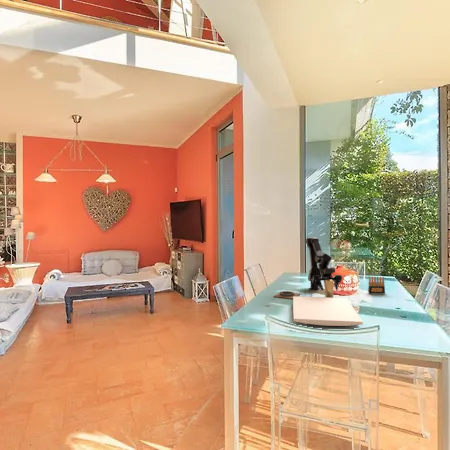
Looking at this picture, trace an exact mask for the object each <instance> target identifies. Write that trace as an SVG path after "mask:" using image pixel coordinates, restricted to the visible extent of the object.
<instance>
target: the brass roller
mask: <svg viewBox="0 0 450 450" xmlns="http://www.w3.org/2000/svg"><path fill="white" fill-rule="evenodd" d="M324 289H325V290H324V293H325V294H324V297H327V298H334V280H330V279H327V280H324Z"/></svg>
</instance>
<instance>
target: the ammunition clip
mask: <svg viewBox="0 0 450 450" xmlns="http://www.w3.org/2000/svg"><path fill="white" fill-rule="evenodd" d="M367 288H368V289H367V293H368V292H369V293H368V294H372V293H385V294H386V289H385V288H386V287H385V276H381V275H380V276H378V275H377V276H374V275H373V276H369V277H368V287H367Z"/></svg>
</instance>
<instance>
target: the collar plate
mask: <svg viewBox="0 0 450 450" xmlns="http://www.w3.org/2000/svg"><path fill="white" fill-rule="evenodd" d="M300 295H301V293H296V292H294V291H290V290H283V291H280V292H278V293H276V294H275V295H273V298H276V297H278V298H279V299H284V300H285V299H287V300H293V296H296V297H300Z"/></svg>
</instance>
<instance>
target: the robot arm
mask: <svg viewBox="0 0 450 450" xmlns="http://www.w3.org/2000/svg"><path fill="white" fill-rule="evenodd" d="M305 244H306V247H307V248H308V251H309V259H310V269H309V273H308V276H307V280H308V281H309V282H310V286H309V288H308V289H309V290H315V291H318V290H321V291H324V287H323V285H322V281H325V280H327V279H330V280H333V286H334V289H335V290H336V291H338V289H339V288H338V287H339V284H340V283H341V281H343V280H342V279H343V276H342V275H341V274H335V275H334V277H332V276H333V273H336V269H335V267H329V265H330V264H331V263H330V262H331V260H332V256H331V255H329V254H328V253H325V252H324V251H323V250H322V248H321V247H322V246H321V244H320V241H319V238H318V237H316V236H312V237H311V236H310V237H306V238H305Z"/></svg>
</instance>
